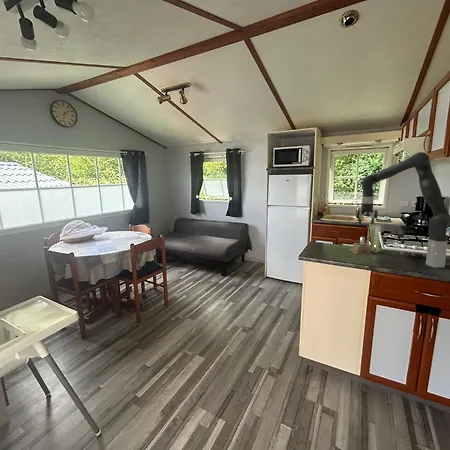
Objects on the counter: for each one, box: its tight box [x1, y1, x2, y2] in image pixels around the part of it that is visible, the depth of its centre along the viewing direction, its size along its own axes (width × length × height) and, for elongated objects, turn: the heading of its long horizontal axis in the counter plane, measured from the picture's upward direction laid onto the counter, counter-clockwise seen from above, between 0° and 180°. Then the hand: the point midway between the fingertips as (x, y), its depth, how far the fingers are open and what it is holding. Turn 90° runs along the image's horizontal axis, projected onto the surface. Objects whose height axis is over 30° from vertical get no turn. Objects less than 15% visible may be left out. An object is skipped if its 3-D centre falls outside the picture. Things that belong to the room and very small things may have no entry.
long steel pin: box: [359, 236, 366, 246], centre depth 194 cm, size 3×3×12 cm
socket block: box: [350, 242, 374, 256], centre depth 195 cm, size 12×12×6 cm
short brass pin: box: [373, 243, 380, 254], centre depth 193 cm, size 3×3×6 cm
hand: (366, 223), depth 191 cm, fingers open, 8 cm apart
